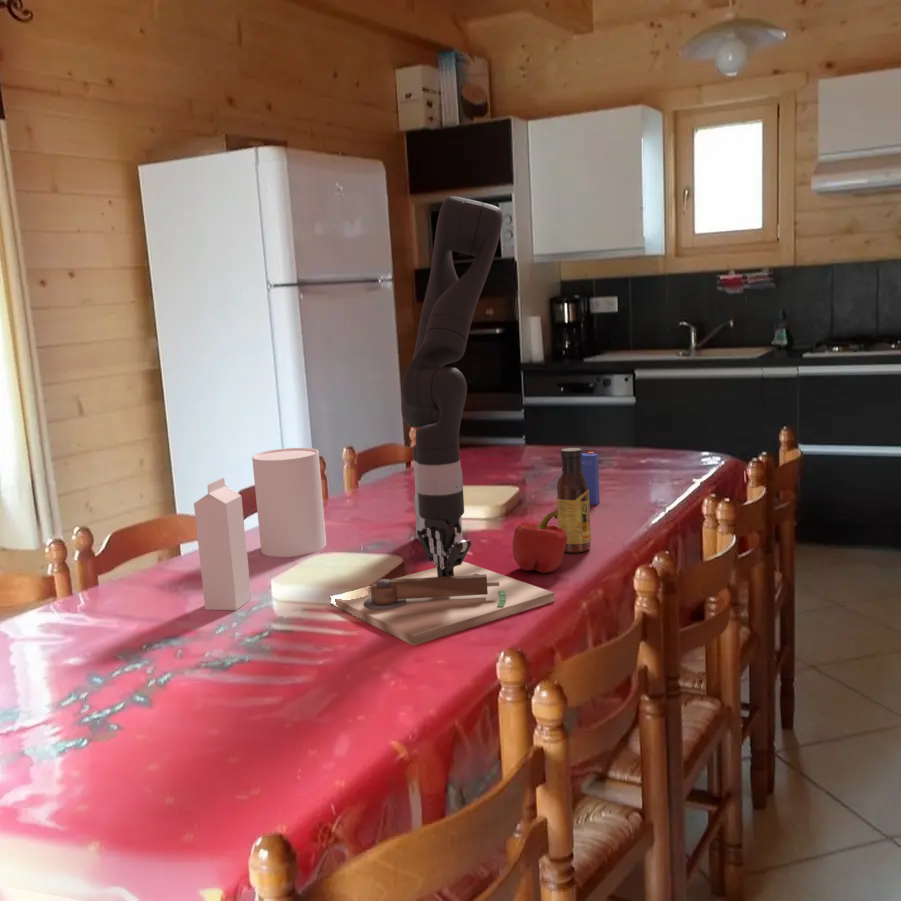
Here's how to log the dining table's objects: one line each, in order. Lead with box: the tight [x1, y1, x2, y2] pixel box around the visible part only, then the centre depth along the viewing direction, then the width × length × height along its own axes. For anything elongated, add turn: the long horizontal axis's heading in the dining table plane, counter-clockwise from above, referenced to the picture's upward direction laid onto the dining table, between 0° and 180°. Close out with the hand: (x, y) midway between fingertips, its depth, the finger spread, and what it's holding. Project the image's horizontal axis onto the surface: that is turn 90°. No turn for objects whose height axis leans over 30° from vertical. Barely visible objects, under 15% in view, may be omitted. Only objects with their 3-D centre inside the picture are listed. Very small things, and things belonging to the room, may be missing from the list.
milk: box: [193, 477, 252, 611], centre depth 168 cm, size 6×6×22 cm
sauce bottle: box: [556, 447, 592, 554], centre depth 189 cm, size 6×6×20 cm
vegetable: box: [512, 511, 567, 574], centre depth 178 cm, size 11×10×10 cm
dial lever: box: [370, 574, 499, 604], centre depth 161 cm, size 4×21×3 cm, turn 90°
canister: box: [251, 447, 327, 558], centre depth 202 cm, size 14×14×20 cm
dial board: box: [335, 560, 555, 646], centre depth 164 cm, size 26×28×2 cm
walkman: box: [581, 451, 601, 506], centre depth 226 cm, size 8×3×12 cm, turn 63°
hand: (446, 588), depth 164 cm, fingers closed
